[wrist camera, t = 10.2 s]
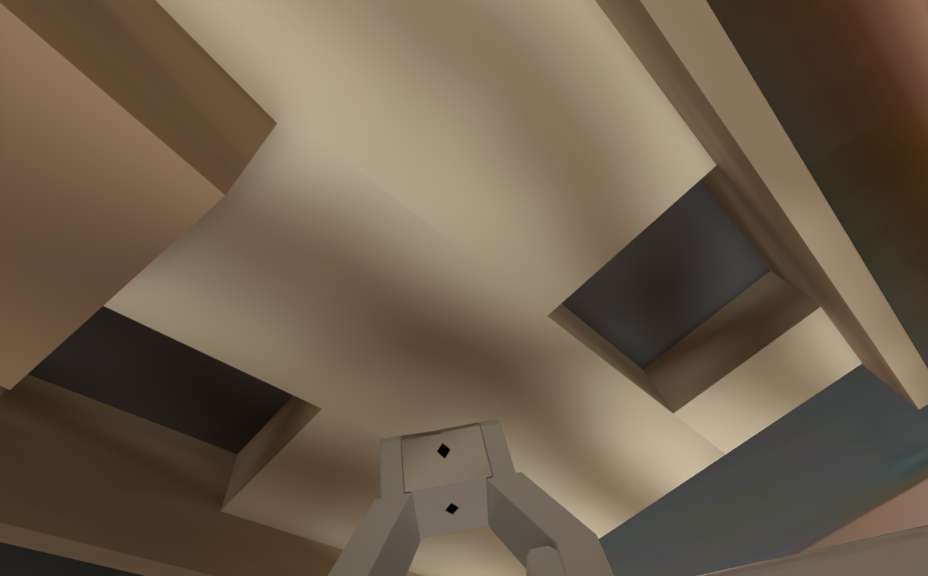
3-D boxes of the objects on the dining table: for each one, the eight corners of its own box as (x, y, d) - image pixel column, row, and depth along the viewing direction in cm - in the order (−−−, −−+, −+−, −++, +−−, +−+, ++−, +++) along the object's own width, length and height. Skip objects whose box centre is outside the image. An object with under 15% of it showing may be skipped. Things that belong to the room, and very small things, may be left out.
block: (122, 265, 11) (10, 389, 8) (-152, 79, 8) (-508, 143, 5) (277, 123, 10) (225, 196, 6) (16, -141, 7) (-296, -249, 4)
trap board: (488, 558, 25) (508, 660, 21) (-245, 287, 12) (-519, 420, 8) (830, 313, 19) (943, 394, 15) (96, -699, 6) (-312, -1691, 3)
